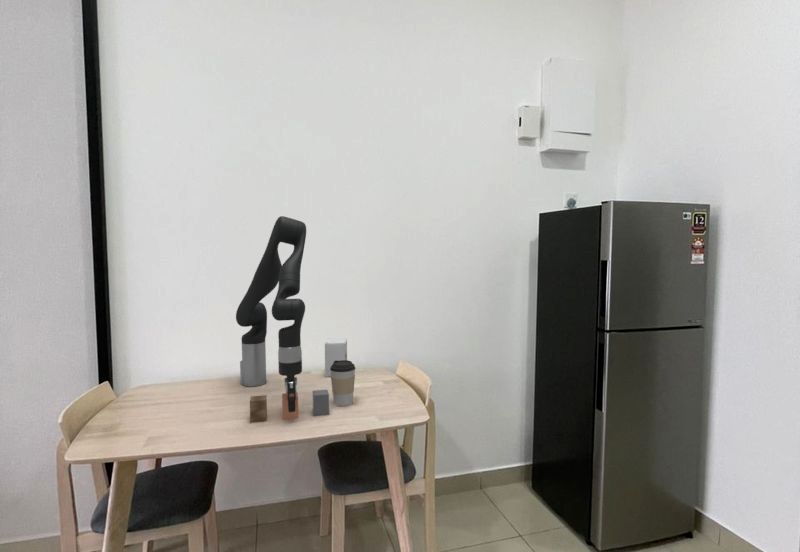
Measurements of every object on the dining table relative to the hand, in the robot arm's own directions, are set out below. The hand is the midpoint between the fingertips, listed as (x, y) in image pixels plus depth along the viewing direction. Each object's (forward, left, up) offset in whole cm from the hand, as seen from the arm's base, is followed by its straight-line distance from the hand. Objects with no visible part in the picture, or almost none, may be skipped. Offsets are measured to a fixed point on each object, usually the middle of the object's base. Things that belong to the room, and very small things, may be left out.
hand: (291, 407), depth 144 cm
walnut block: (-9, -5, -3) cm, 11 cm away
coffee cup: (+12, +16, -3) cm, 20 cm away
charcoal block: (+8, +5, -3) cm, 10 cm away
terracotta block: (0, 0, -3) cm, 3 cm away
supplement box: (-5, +47, -3) cm, 47 cm away
